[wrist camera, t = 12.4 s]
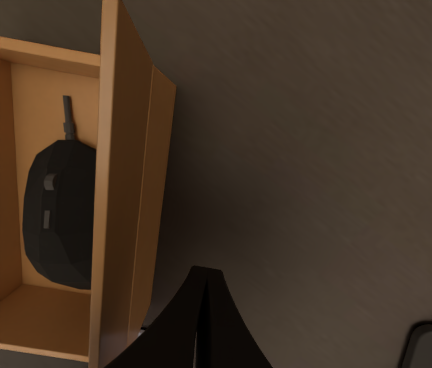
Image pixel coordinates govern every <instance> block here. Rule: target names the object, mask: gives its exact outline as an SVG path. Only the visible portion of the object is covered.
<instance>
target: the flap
mask: <svg viewBox="0 0 432 368" xmlns="http://www.w3.org/2000/svg"><path fill="white" fill-rule="evenodd" d="M152 70H153V62H152V60H151V58H150V56H149V54H148V52H147V50H146V48H145V46H144V44H143V42H142V40H141V38H140V36H139V34H138V32H137V30H136V28H135V26H134V24H133V22H132V20H131V18H130V16H129V14H128V12H127V10H126V8H125V6H124V4H123V2H122V0H102V18H101V45H100V71H99V97H98V123H97V149H96V175H95V202H94V228H93V254H92V280H91V306H90V332H89V358H88V368H104V367H105V366H106V365H107V364H109V363H110V362H111V361H112V360H113V359H115V358H116V357H117V356H118V355H119V354H121V353H122V352H123V351H124V350H125V349H126V348H127V337H128V326H129V316H130V305H131V294H132V284H133V273H134V262H135V252H136V241H137V230H138V220H139V209H140V198H141V187H142V177H143V166H144V155H145V145H146V134H147V123H148V113H149V102H150V91H151V81H152Z"/></svg>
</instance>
